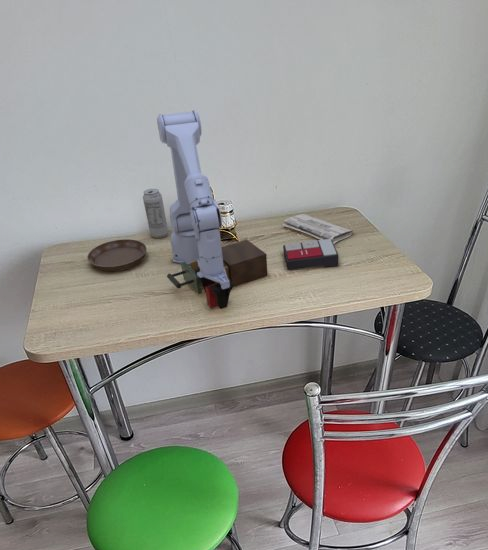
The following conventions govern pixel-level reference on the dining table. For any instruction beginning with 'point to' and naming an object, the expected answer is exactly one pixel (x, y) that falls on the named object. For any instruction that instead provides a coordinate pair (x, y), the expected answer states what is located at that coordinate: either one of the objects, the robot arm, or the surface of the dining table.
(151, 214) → the energy drink can
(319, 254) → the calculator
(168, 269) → the dining table surface
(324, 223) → the newspaper
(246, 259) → the cabinet
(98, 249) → the plant saucer
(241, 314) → the dining table surface
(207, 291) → the card box
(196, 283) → the drawer
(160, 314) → the dining table surface
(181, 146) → the robot arm
